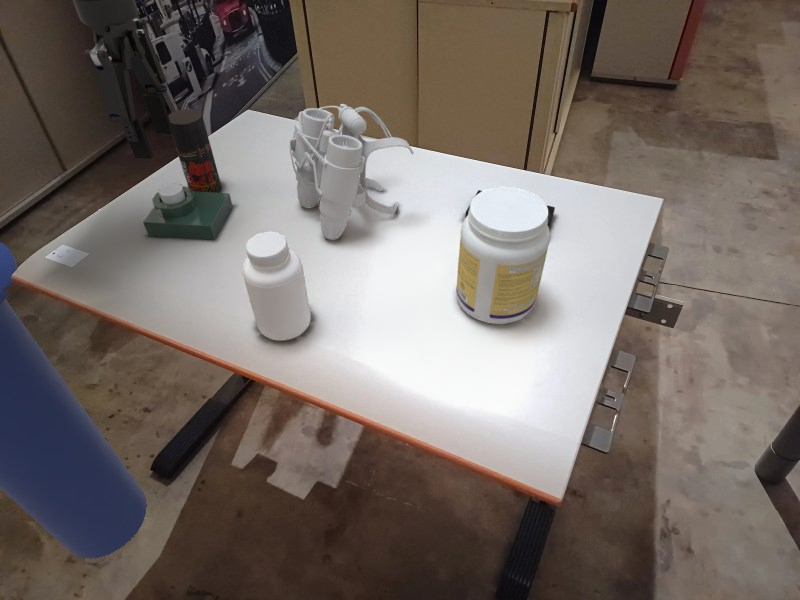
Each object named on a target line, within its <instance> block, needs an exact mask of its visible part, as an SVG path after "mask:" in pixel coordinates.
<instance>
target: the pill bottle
mask: <svg viewBox="0 0 800 600" xmlns="http://www.w3.org/2000/svg"><path fill="white" fill-rule="evenodd" d="M245 252H246V258H245V259H244V261H243V264H242V268H241V269H242V270H241V271H242V273H241V274H242V277H243V281H244V285H245V288H246V292H247V296H248V298H249V302H250V307H251V309H252V314H253V317H254V320H255V324H256V327H257V329H258V331H259V333H260V334H261V335H262V336H263V337H265V338H267V339H269V340H273V341H280V342H281V341H283V342H284V341H288V340H293V339H295V338H297V337H299V336H301V335H302V334H303V333H305V331H306V330H307V329H308V327H309V326H310V323H311V319H312V315H311V314H312V313H311V307H310V301H309V296H308V290H307V283H306V279H305V273H304V267H303V262H302V259H301V257H300V256H299V254H298V253H297V252H296V250H294V249H292V248H291V247H289V244H288V240H287V238H286V236H285V235H283V234H282V233H280V232H276V231H263V232H259V233H257V234H254V235H253V236H252V237H250V238H249V239H248V240H247V242H246V244H245Z"/></svg>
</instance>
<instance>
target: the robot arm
mask: <svg viewBox="0 0 800 600" xmlns="http://www.w3.org/2000/svg"><path fill="white" fill-rule="evenodd" d="M72 2H73V5H74V8H75V10H76V13H77V16H78V18H79V20H80V22H81V23H82V24H83V25H86V26H88V27H89V28H90V29H91V30H92V34H93V40H94V44H95V46H94V47H93V48H92V49H85V50H84V57H85V58H86V61H87V62H88V65H89V66H90V68H91V70H92V72H93V77H94V79H95V82H96V87H97V89H98V92H99V96H100V99H101V102H102V105H103V107H104V111H105V114H106V118H107V120H108V122H109V123H119V124H121V128H122V129H123V130H122V131H123V132H124V135H125V138H126V140H127V141H128V143H129V146H130V148H131V151H132V154H133V157H134V159H145V160H146V159H147V160H148V159H149V160H152V159H153V158H154V153H153V151H152V147H151V145H150V142H149V140H148V137H147V134H146V131H145V128H144V125H143V122H142V120H141V117H139V116H136V112H135V111H136V110H135V105H134V99H133V92H132V85H131V78H130V71H131V70H132V72H133V74H134V76H135V77H136V78H137V80H138V82H139V84H140V85H141V87H142V89H143V90H144V92H146V93H144V94H143V95H142V96H143V100H144V103H145V106H146V109H147V112H148V114H149V117H150V120H151V123H152V127H153V129H154V133H155V134H157V135H159V134H160V135H172V133H173V129H172V126H171V123H170V120H169V117H168V115H169V114H168V111H167V107H166V104H165V101H164V98H163V95H162V94H163V93H167V92H168V88H167V85H165V84H166V82H167V81H166V77H165V73H164V71H163V68H162V66H161V63H160V61H159V58H158V55H157V53H156V50H155V48H154V47H155V46H154V45H153V42H152V39H151V37H150V34H149V29H148V25H147V21H146V19H145V18H137V17H138V15H139V10H138V6H137V3H136V0H72ZM114 63H115V64H114ZM163 84H164V85H163Z"/></svg>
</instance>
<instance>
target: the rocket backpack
mask: <svg viewBox="0 0 800 600" xmlns="http://www.w3.org/2000/svg"><path fill="white" fill-rule="evenodd" d="M326 109H337V111H338V120H339V122H340V123H341V124H340V126H339V127H338V128H339V129H337V131H336V130H334V129H335V115H334V113H332V112H330V111H328V110H326ZM360 112H365V113H367V114H369V115H370V116H371V118H372V119H373V120H374V121H375V123H377V125H379V126H380V127H381V129H382V131H383V133H384V135H385V137H384V138H379V139H376V140H371V141H367V140H365V139H364V138H363V137H362V136H361V135H363V134H364V133H365V132H366V130H367V128H368V127H367V126H368V125H367V121H366V120H365V118H364V117H362V116H361V115H360V114H359V113H360ZM393 147H395V148H396V147H402V148H405V149H408V150H409V151H410V154H411V155H415V154H414V151H413V149H412V147H411V145H410V144H409V142H408V141H407V140H405V139H404V138H400V137H394V136H393V135H391V132H390V131H389V129H388V128H387V126H386V125H385V123H384V122H383V120H382V119H381V118H380V117H379V116H378V115H377V114H376V113H375V112H374V111H373V110H371V109H370V108H367V107H365V106H358V107H356V108H353V107H351V106H348V105H347V104H346V103H341V104H340V105H339V106H338V105H325V106H322V107H318V108H317V107H309V108H305V109H304V110H302V111H301V110H300V111H299V112H298V124H294V130H293V136H292V139H290V140H289V154H290V160H291V165H292V168H293V172H294V173H295V179H296V181H297V183H296V184H297V185H296V191H297V192H296V193H297V198H298V199H297V200H298V201H299V205H300V206H302V207H303V208H305V209H313V208H315V207H316V206H317V205H318V203H319V211H320V216H319V219H320V220H319V221H320V229H321V232H322V235H323V237H325V238H326V239H328V240H333V241H334V240H338V239H339V238H341V236H342V234H343V233H344V231H345V229H346V227H347V224H348V221H349V216H351V214H352V210H353V208H358V207H361V206H364V204H365V205H366V206H367V207H369V208H371V209H372V210H374V211H376V212H378V213H381V214H385V215H393V214H395V213H396V211H397V208H398V207H399V202H398V201H395V203H394V206H389V205H385V204H382V203H381V202H378V201H376V200H375V199H373V198H372V197H371V196H370V195H369V194H368V189H367V188H368V187H370V188H372V189H374V190H376V191H377V192H382V191H384V187H383V185H382V184H381V183H379V182H378V181H376V180H374V179H371V178H369V177H367V176H366V175H367V174H366V173H367V172H366V171H367V162H368V158H369V156H370V155H371V154H373V152H375V151H378V150H382V149H386V148H393ZM367 186H368V187H367Z"/></svg>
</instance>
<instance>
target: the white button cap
mask: <svg viewBox="0 0 800 600" xmlns="http://www.w3.org/2000/svg"><path fill="white" fill-rule="evenodd" d="M182 186H183V185H182V184H181V183H179V182H170V183H169V182H168V183H166V184H164V185H162V186H160V187H159V189H158V192H159V195H160V197H161V200H162V202H163V203H164V204H167V205H173V204H177V203H180V202H182V201H183V200H185V198H186V196H185V193H184V190H183V187H182Z"/></svg>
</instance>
